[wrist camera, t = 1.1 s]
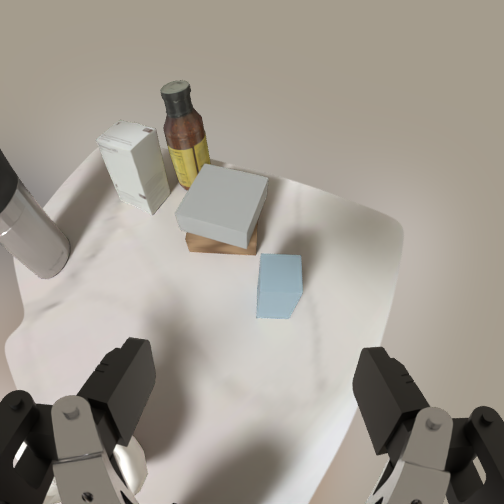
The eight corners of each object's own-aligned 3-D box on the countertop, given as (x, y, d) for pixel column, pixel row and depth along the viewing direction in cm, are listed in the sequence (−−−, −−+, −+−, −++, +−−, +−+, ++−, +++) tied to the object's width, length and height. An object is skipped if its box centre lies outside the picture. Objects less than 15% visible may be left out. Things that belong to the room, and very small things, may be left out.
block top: (180, 230, 39) (174, 213, 36) (207, 181, 44) (204, 163, 40) (246, 249, 38) (246, 233, 34) (266, 195, 42) (268, 177, 39)
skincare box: (121, 202, 46) (91, 141, 33) (140, 179, 49) (118, 117, 36) (154, 217, 45) (127, 151, 32) (174, 192, 47) (156, 125, 34)
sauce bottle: (205, 165, 51) (194, 71, 33) (218, 186, 48) (208, 86, 31) (173, 176, 49) (150, 84, 32) (183, 199, 46) (159, 100, 29)
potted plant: (176, 480, 25) (82, 570, 3) (106, 489, 23) (-15, 535, 1) (141, 397, 31) (-1, 377, 9) (75, 412, 28) (-66, 391, 7)
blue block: (256, 317, 37) (259, 291, 28) (257, 287, 39) (260, 253, 30) (288, 318, 37) (302, 292, 28) (288, 288, 39) (301, 255, 30)
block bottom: (190, 252, 42) (185, 239, 38) (199, 201, 47) (196, 186, 43) (255, 256, 42) (256, 242, 38) (258, 204, 47) (259, 188, 43)
